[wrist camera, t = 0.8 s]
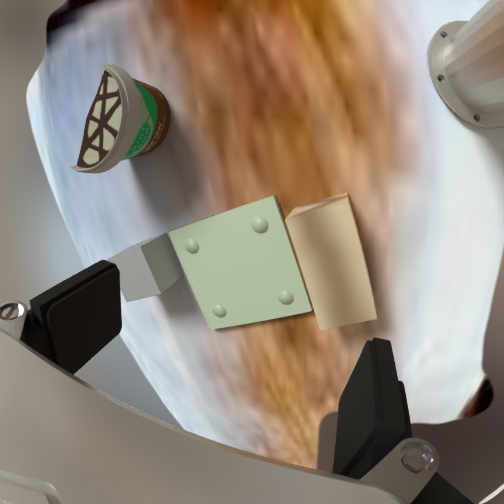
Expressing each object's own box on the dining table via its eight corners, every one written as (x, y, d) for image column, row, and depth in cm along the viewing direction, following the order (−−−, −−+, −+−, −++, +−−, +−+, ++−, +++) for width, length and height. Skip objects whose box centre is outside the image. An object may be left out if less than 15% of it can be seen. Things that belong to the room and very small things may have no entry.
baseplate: (275, 194, 34) (272, 196, 33) (312, 306, 37) (311, 311, 36) (172, 230, 39) (167, 232, 38) (213, 325, 42) (209, 330, 41)
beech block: (347, 192, 32) (348, 201, 26) (373, 292, 34) (377, 318, 29) (294, 207, 34) (284, 219, 28) (324, 303, 36) (320, 330, 31)
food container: (158, 180, 37) (106, 194, 28) (123, 162, 38) (68, 172, 28) (194, 87, 32) (145, 72, 23) (154, 74, 32) (101, 61, 23)
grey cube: (166, 232, 39) (140, 246, 34) (184, 274, 40) (161, 294, 35) (134, 244, 41) (107, 259, 36) (151, 283, 43) (126, 302, 37)
